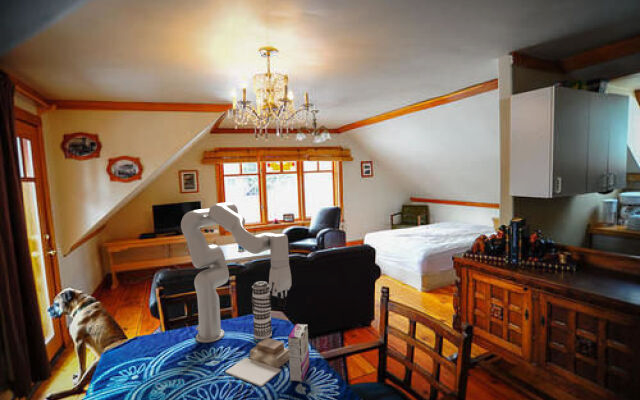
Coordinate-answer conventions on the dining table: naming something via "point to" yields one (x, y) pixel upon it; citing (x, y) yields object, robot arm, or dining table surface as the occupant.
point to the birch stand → (270, 357)
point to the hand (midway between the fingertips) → (282, 306)
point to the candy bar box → (298, 352)
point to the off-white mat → (253, 371)
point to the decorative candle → (261, 310)
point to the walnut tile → (270, 346)
